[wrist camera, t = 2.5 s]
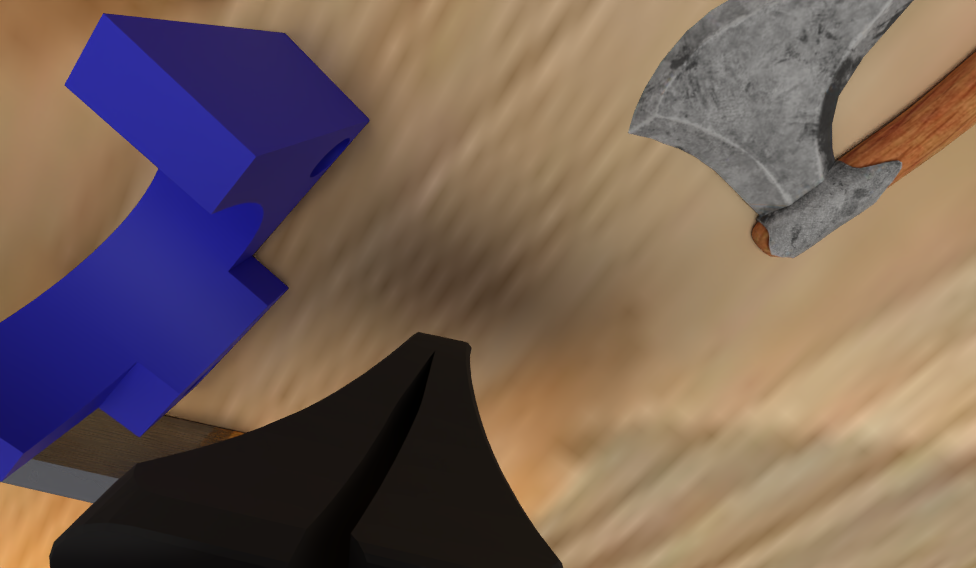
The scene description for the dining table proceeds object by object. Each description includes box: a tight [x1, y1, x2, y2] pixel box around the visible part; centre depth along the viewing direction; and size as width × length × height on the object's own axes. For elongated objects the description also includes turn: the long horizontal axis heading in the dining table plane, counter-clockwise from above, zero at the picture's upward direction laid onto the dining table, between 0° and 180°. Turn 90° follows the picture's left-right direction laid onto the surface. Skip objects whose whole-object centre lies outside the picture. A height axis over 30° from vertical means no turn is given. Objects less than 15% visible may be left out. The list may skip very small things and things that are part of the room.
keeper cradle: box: [0, 408, 244, 503], centre depth 14 cm, size 12×18×4 cm, turn 170°
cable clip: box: [0, 13, 370, 482], centre depth 13 cm, size 12×4×6 cm, turn 134°
